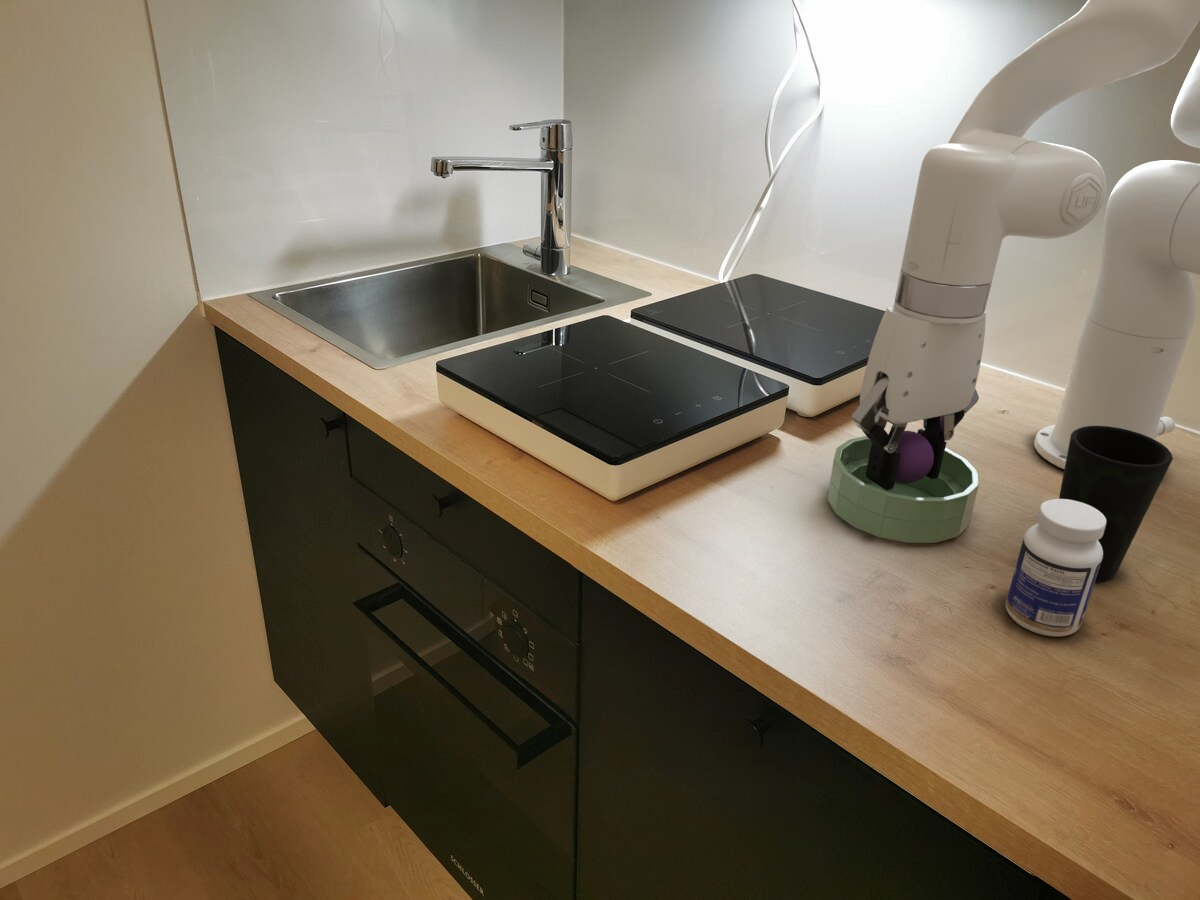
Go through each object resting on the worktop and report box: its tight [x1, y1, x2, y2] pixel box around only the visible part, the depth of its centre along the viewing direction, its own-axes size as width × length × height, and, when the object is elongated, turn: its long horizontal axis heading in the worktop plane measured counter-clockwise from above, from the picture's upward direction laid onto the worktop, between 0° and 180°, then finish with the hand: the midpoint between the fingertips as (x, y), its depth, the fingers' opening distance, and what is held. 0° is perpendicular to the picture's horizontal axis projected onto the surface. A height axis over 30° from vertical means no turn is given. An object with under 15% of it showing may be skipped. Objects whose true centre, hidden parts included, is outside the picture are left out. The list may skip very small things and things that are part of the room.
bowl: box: [826, 435, 980, 544], centre depth 88 cm, size 13×13×5 cm
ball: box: [895, 430, 934, 483], centre depth 86 cm, size 5×5×5 cm
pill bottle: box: [1005, 498, 1106, 638], centre depth 72 cm, size 6×6×10 cm
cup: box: [1058, 426, 1174, 583], centre depth 79 cm, size 8×8×12 cm
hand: (901, 476), depth 87 cm, fingers closed on ball, 4 cm apart
